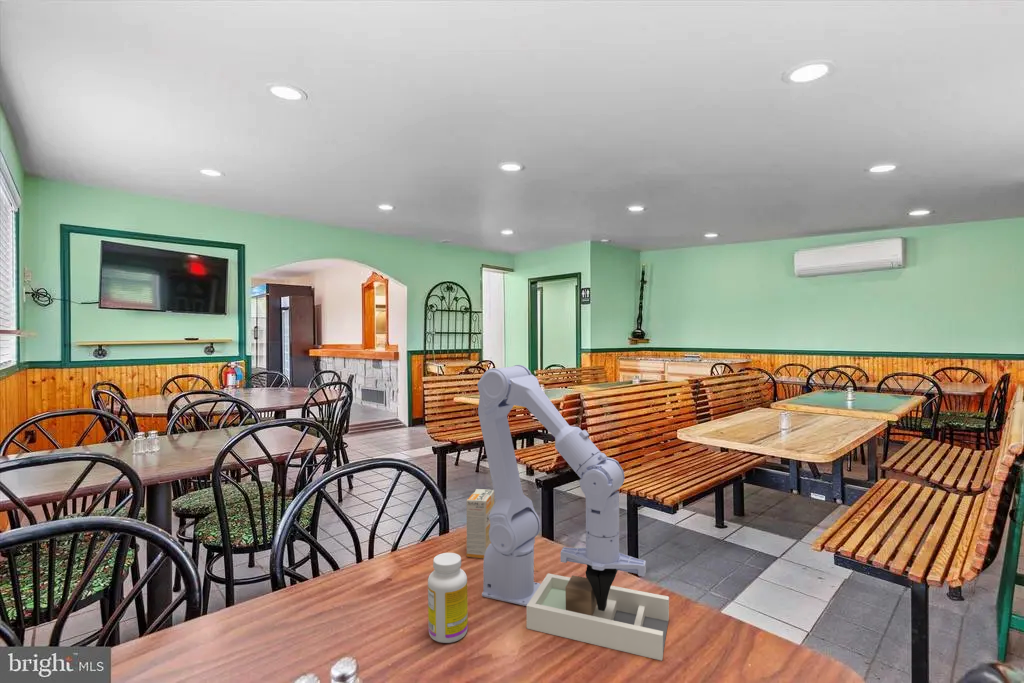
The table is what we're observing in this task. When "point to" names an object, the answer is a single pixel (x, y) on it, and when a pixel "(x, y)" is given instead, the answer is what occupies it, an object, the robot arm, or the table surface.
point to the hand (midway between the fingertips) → (602, 607)
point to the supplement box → (478, 522)
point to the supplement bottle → (447, 599)
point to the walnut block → (580, 596)
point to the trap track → (603, 618)
